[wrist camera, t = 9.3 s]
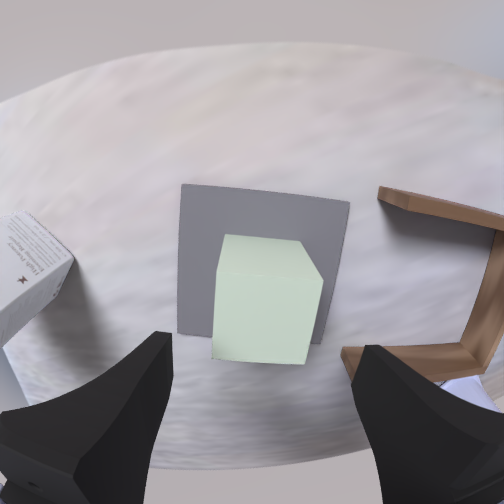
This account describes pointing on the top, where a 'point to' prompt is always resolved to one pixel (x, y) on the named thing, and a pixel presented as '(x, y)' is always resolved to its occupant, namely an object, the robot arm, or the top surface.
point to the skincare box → (27, 271)
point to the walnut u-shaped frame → (483, 314)
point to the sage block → (264, 301)
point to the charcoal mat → (255, 225)
